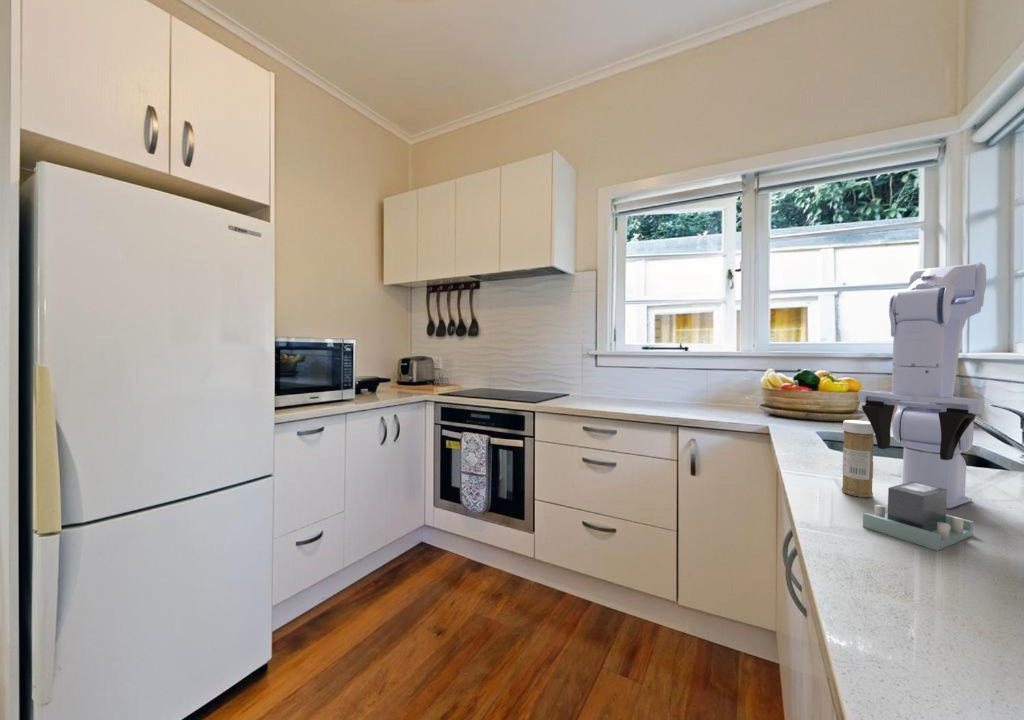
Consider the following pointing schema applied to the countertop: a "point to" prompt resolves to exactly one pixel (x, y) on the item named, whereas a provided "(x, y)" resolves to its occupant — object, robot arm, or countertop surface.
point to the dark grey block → (917, 505)
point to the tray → (935, 540)
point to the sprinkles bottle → (858, 458)
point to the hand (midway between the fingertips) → (913, 453)
